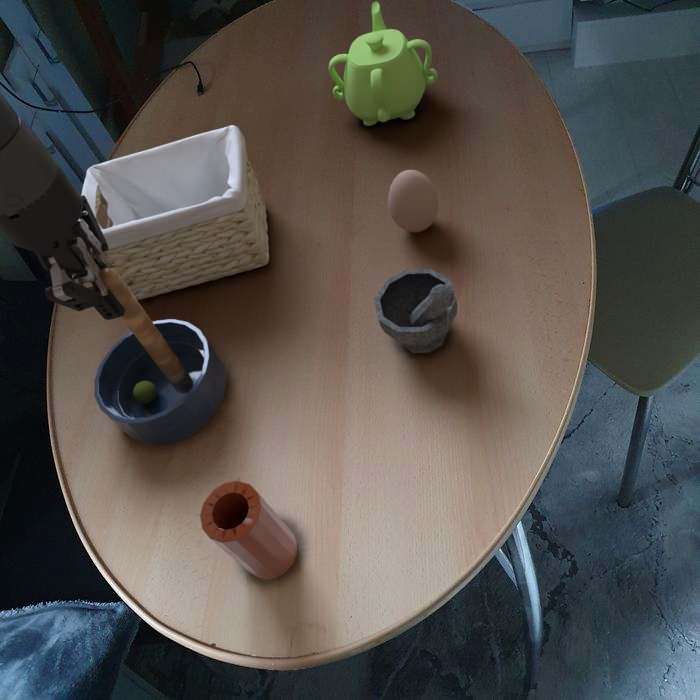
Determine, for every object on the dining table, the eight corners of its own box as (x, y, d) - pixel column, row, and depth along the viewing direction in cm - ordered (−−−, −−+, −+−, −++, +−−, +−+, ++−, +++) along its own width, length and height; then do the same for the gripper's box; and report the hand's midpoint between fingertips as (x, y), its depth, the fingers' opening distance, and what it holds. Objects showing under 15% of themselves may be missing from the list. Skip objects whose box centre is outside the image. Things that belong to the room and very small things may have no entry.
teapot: (326, 109, 117) (305, 42, 107) (389, 66, 120) (374, -3, 110) (382, 146, 108) (365, 76, 98) (450, 99, 110) (439, 27, 100)
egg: (407, 205, 99) (395, 152, 91) (450, 214, 96) (441, 160, 88) (386, 238, 96) (372, 187, 88) (429, 248, 93) (419, 196, 85)
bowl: (194, 459, 82) (171, 435, 77) (99, 432, 88) (71, 407, 83) (247, 358, 89) (229, 329, 84) (156, 338, 95) (134, 311, 90)
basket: (124, 310, 100) (68, 241, 88) (133, 234, 110) (83, 163, 98) (278, 271, 97) (241, 195, 86) (273, 196, 107) (239, 119, 95)
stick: (190, 399, 84) (105, 282, 66) (174, 394, 85) (86, 278, 67) (199, 383, 85) (117, 264, 68) (184, 379, 86) (99, 261, 68)
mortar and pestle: (370, 339, 87) (348, 278, 77) (418, 292, 89) (403, 228, 80) (435, 384, 80) (421, 325, 71) (486, 332, 83) (478, 268, 73)
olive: (134, 407, 86) (132, 384, 85) (133, 401, 89) (131, 379, 88) (158, 405, 87) (157, 382, 86) (156, 399, 90) (155, 377, 89)
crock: (284, 587, 71) (243, 550, 61) (235, 569, 73) (189, 531, 64) (306, 533, 74) (270, 490, 64) (258, 518, 76) (217, 474, 66)
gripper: (-11, 144, 62) (90, 267, 76) (-41, 249, 54) (78, 366, 68) (64, 120, 61) (152, 249, 75) (45, 224, 53) (148, 347, 67)
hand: (116, 304), depth 71 cm, fingers closed on stick, 2 cm apart
